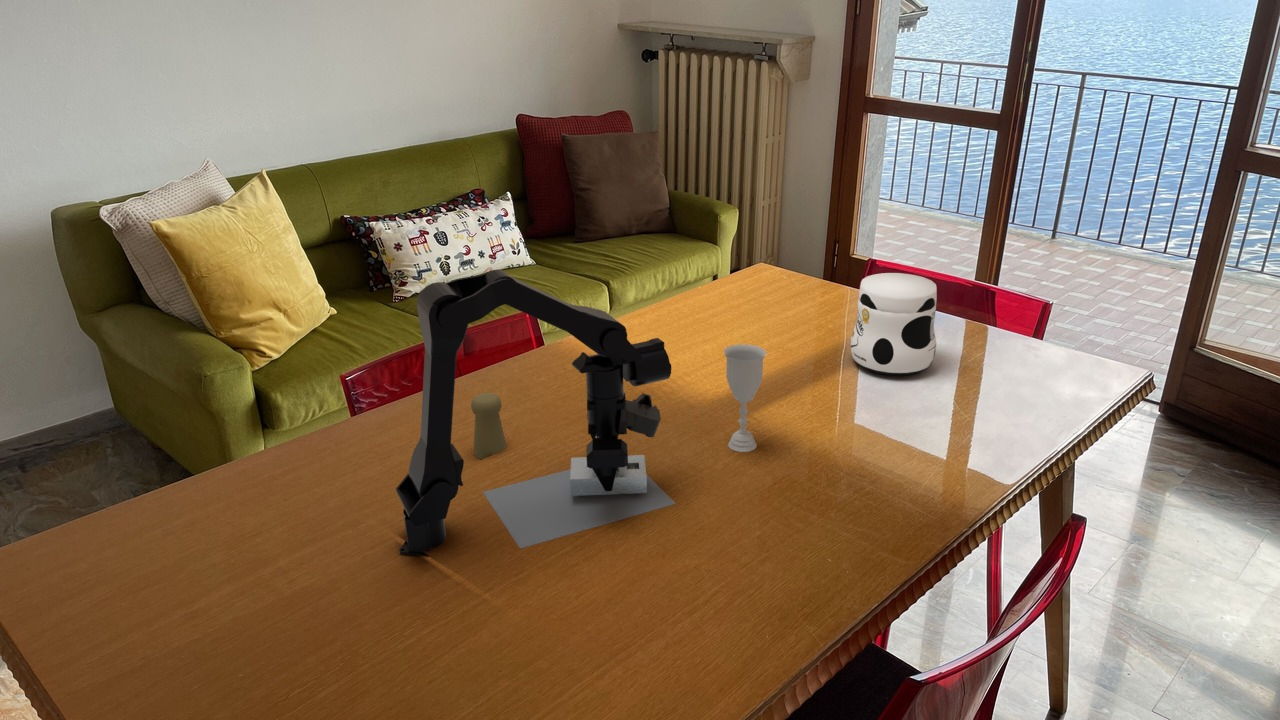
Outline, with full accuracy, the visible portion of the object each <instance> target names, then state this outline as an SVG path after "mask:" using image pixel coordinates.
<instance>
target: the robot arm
mask: <svg viewBox="0 0 1280 720" xmlns="http://www.w3.org/2000/svg"><path fill="white" fill-rule="evenodd" d="M504 305H506V306H508V307H511V308H513V309H515V310H518V311H520V312H522V313H524V314H526V315H528V316H530V317H533V318H535V319H537V320H539V321H541V322H545V323H546V324H548V325H551V326H553V327H555V328H558V329H559V330H562V331H564V332H567V333H568V334H570V335H571V336H573V337H574V338H575V339H577V340H578V341H579V342H580V343H582V344H584V345H585V346H586V347H588V348H589V350H592V351H593V352H594V353H596V354H591V355H588V354H587V353H586V352H584V351H583V352H581V353H580V355H579V356H578V357H576V358H575V359H574V360H573V361H572V363H571V365H572V366H573V368H575V369H576V370H577V371H578V372H579V373H580V374H585V379H586V411H587V414H586V416H587V417H586V418H587V434H588V435H589V436H590V437H591V439H592V440H590V442H589V443H588V444H586V457H587V467H588V468H592V469H593V471H594V472H595V474H596V476H597V477H598V479H599V481H600V483H601V484H602V486H603V488H604V490H605V491H612V488H613V484H614V480H615V475H616V471H617V468H618V467H626V466H628V456H629V454H628V443H626V441H624V440H623V439H622V438H619V436H620V435H627V434H628V431H631V432H634V433H638V434H642V435H645V437H647V438H654V437H655V436H656V432H657V430H658V427H659V425H660V423H661V419H662V418H661V412H660V410H659V409H658V407H657V405H653V403H652V395H650V394H647V393H643V392H642V393H641V394H639V396H638V397H636V398H635V399H634V398H633V399H632V400H628V399H626V392H625V390H624V381H625V382H629V383H630V385H631V386H633V387H639V386H644V385H648V384H653V383H656V382H657V383H658V382H661V381H666V380H668V379H670V377H671V373H672V364H671V362H670V357H669V355H668V352H667V351H666V349H665V342H664V341H663V340H662V339H660V338H659V337H654V338H651V339H649V340H646V341H641V342H636V343H631V342H630V341H629V340H628V332H627V328H626V326H625V325H623V324H622V323H621V322H620V321H618V320H617V319H615V318H614V317H613V316H612V315H610V314H609V313H607V312H606V311H605V310H602V309H598V308H593V307H591V306H590V307H589V306H587V305H586V306H585V305H576V304H572V303H569V302H566V301H564V300H562V299H560V298H558V297H556V296H554V295H551V294H549V293H547V292H545V291H543V290H541V289H538V288H536V287H534V286H533V285H531V284H529V283H525V282H524V281H521V280H520V279H517V278H515V277H514V276H511V275H509V274H508V273H507V272H505V271H504V270H502V269H492V270H489V271H486V272H483V273H481V274H477V275H472V276H465V277H460V278H456V279H453V280H450V281H447V282H433V283H430V284H428V285H426V286H425V287H424V288H423V289H422V290H420V291H419V293H418V295H417V299H416V309H417V315H418V321H419V323H418V324H419V327H420V332H421V336H422V339H423V344H424V361H423V363H424V364H423V379H422V381H423V382H422V403H421V418H420V419H421V422H420V423H421V425H420V437H419V440H418V442H417V444H416V445H415V448H414V449H413V452H412V456H411V459H410V462H409V463H410V464H409V468H408V473H407V474H406V475H405V477H404V478H403V479H402V481H401V482H399V484H398V485H397V486H396V488H395V492H396V494H397V496H398V498H399V500H400V502H401V504H402V506H403V519H404V527H405V533H406V540H405V541H404V542H403V543H402V545H401V547H400V548H399V550H398V552H399V554H400V555H406V556H407V555H408V556H416V557H417V556H418V557H429V558H430V557H431V555H429V554H428V553H429V552H431V550H432V549H435V548H437V547H440V546H441V545H443V543H444V542H446V539H447V531H446V524H445V523H446V522H445V519H446V518H447V515H448V511H449V508H450V505H451V501H452V500H453V499H455V498H456V497H457V495H458V492H459V486H460V487H463V486H464V484H463V481H462V475H463V474H462V473H463V469H464V462H465V460H464V459H463V458H462V455H461V454H460V452H459V451H458V449H457V448H456V447H455V445H454V444H453V443H452V433H453V431H452V430H453V416H454V402H455V401H454V400H455V399H454V398H455V397H454V396H455V386H456V384H455V383H456V370H457V369H456V367H457V366H456V365H457V357H458V356H457V355H458V352H459V350H460V348H461V346H462V344H463V343H464V340H465V338H466V335H467V331H468V327H469V325H470V324H471V323H474V322H477V321H479V320H481V319H483V318H484V317H486V316H487V315H489V314H490V313H492V311H495V310H496V309H497V308H498V307H501V306H504ZM426 552H427V553H426Z"/></svg>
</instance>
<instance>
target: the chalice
mask: <svg viewBox="0 0 1280 720" xmlns="http://www.w3.org/2000/svg"><path fill="white" fill-rule="evenodd" d="M723 352H724V355H725V357H726V372H725V373H726V374H725V375H726V380H727V383H728V386H729V389H730V391H731V392H732V395H733V397H734V398H735V400H736V401H737V402H739V403H740V408H739V410H738V412H739V414H740V417H739V419H738V420H737V422H738V423H739V429H738V430H737V431H735V432H734V433H733V434H732V435H731V438H730V441H729V442H728V443H727V445H728V448H729V449H730V450H733V451H736V452H740V453H747V452H748V453H749V452H752V451H755V449H756V448H757V446H758V444H757V443H756V441H755V438H754V435H753V434H752V433H751V431H749V430H747V429H746V428H747V424H748V422H749V420H748V419H747V414H748V413H749V410H748V409H747V403H749V402H751V401H753V399H754V397H755V396H756V394H757V391H758V390H759V388H760V386H761V384H762V381H763V372H764V371H763V369H764V358H765V357H766V355H767V352H766V349H764V348H762V347H760V346H756V345H753V344H733V345H730V346H727V347H726V348H724V350H723Z"/></svg>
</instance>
